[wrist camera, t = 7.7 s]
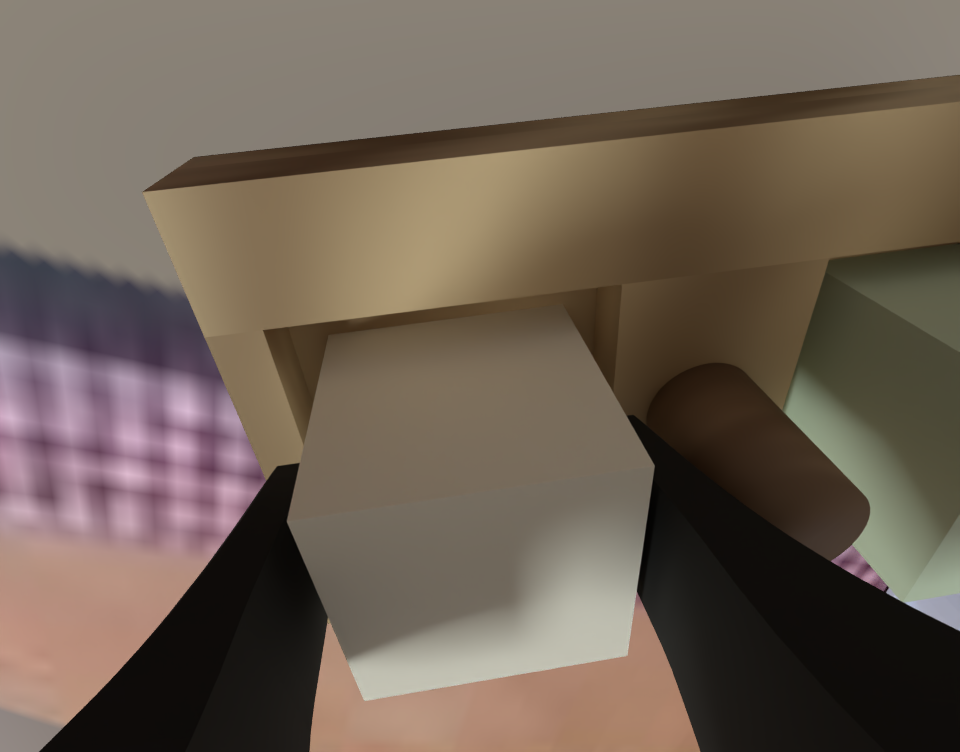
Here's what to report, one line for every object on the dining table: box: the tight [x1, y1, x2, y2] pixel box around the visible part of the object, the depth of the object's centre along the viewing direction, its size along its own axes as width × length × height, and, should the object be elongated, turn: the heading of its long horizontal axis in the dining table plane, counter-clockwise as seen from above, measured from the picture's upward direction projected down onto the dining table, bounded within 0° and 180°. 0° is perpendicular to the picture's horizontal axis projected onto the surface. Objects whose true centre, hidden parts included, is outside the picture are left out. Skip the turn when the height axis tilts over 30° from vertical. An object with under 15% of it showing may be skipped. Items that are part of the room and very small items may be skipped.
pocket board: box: [142, 75, 960, 624], centre depth 11 cm, size 19×12×6 cm, turn 95°
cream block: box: [287, 304, 655, 701], centre depth 11 cm, size 5×5×5 cm
